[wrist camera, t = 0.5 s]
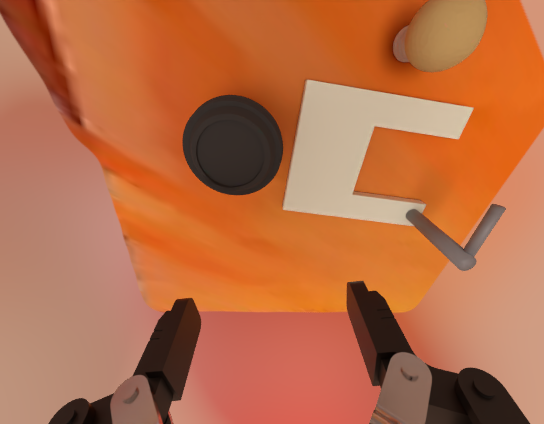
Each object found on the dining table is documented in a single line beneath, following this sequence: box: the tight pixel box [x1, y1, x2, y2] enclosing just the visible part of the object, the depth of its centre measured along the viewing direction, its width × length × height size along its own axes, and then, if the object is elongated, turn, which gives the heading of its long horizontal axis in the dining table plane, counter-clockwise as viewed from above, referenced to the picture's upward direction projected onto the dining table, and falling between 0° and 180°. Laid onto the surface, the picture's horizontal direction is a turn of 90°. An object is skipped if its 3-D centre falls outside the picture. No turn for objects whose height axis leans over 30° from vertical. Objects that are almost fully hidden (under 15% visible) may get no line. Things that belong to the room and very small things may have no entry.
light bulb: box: [393, 0, 487, 72], centre depth 25 cm, size 6×6×10 cm
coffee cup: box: [183, 95, 283, 195], centre depth 27 cm, size 9×9×15 cm
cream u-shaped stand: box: [282, 80, 506, 271], centre depth 30 cm, size 18×22×14 cm
